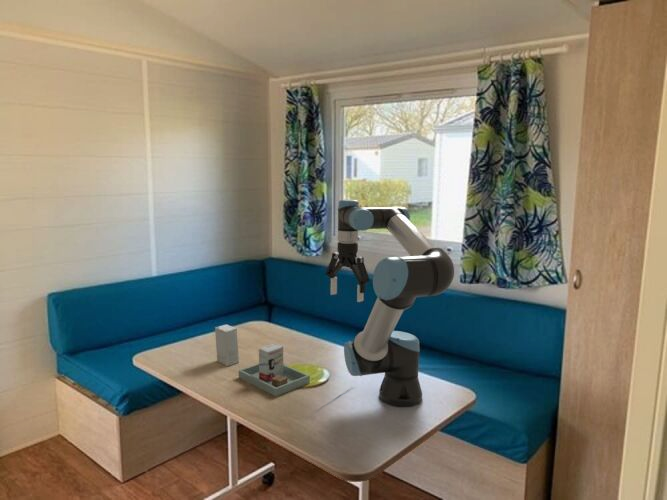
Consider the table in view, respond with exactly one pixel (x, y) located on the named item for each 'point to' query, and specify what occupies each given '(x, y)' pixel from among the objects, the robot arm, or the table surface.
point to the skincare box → (227, 345)
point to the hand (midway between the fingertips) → (346, 297)
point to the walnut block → (279, 381)
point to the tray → (252, 377)
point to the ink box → (270, 362)
